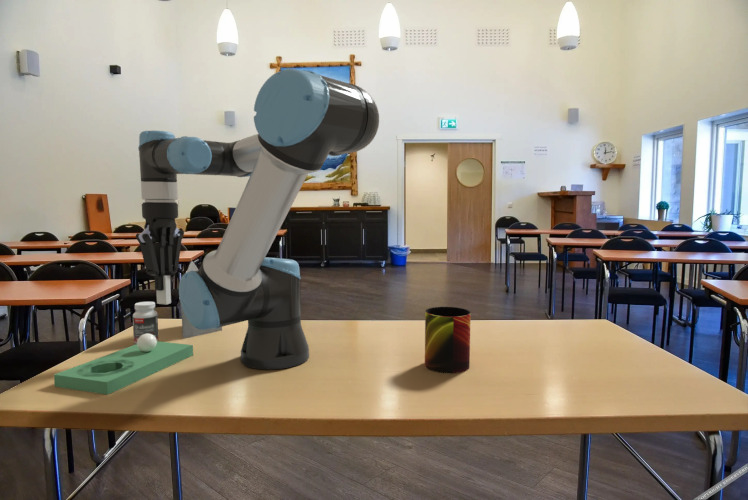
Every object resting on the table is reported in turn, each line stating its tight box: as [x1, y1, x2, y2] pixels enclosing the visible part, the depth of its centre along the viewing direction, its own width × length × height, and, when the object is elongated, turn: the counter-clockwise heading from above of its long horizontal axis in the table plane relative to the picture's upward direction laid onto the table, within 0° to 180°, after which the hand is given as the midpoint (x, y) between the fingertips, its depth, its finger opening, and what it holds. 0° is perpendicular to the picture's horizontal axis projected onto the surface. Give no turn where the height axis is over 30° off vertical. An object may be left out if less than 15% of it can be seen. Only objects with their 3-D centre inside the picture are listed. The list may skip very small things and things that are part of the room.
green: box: [53, 340, 194, 395], centre depth 102 cm, size 24×13×2 cm, turn 162°
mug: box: [424, 306, 471, 375], centre depth 106 cm, size 10×14×12 cm
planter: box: [180, 260, 223, 339], centre depth 132 cm, size 16×8×19 cm, turn 1°
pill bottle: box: [132, 301, 159, 344], centre depth 122 cm, size 6×6×10 cm
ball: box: [137, 333, 158, 352], centre depth 107 cm, size 4×4×4 cm
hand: (164, 303), depth 112 cm, fingers closed
